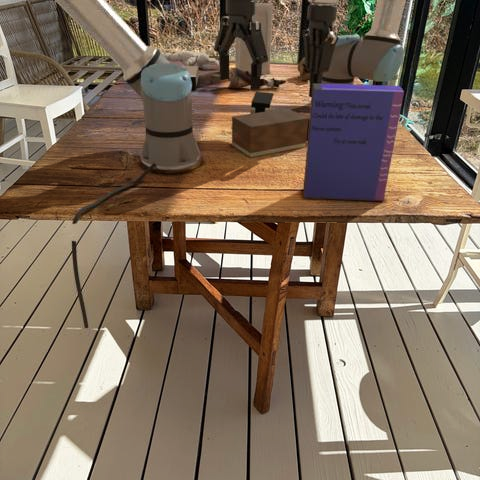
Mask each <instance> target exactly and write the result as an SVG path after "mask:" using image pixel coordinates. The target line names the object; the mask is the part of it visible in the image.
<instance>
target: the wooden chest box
mask: <svg viewBox="0 0 480 480" xmlns="http://www.w3.org/2000/svg"><path fill="white" fill-rule="evenodd" d="M294 111H295V110H291V109H289V108H279V109H275V110H273V109H272V110H271V111H266V112H259V113H253V114H250V113H247V114H240V115H239V114H238V115H233V116H231V146H232V147H234V148H236V149H237V150H239V151H241V152H242V153H243V154H245V155H246V156H248V157H249V158H253V157H258V156H263V155H269V154H274V153H278V152H284V151H289V150H295V149H300V148H305V147H306V148H307V141H306V139H307V128H308V118H307V117H308V116H307V117H305V116H306V115H305V116H303V115H304V114H302V115H300V114H301V113H300V114H298V113H299V112H298V113H296V112H297V111H296V112H294Z"/></svg>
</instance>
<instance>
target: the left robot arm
mask: <svg viewBox="0 0 480 480" xmlns="http://www.w3.org/2000/svg"><path fill="white" fill-rule="evenodd" d="M54 1H55V2H56V3H57V4H58V5H59V6H60V7H61V8H62V9H63V10H64V11H65V12H66V13H67V14H68V15H69V16H70V17H71V18H72V19H73V21H74V22H75V23H76V24H77V25H79V27H80V28H81V29H82V30H83V31H84V32H85V33H86V34H87V35H88V36H89V37H90V38H91V39H92V40H93V41H94V42H95V43H96V44H97V45H98V46H99V47H100V48H101V49H102V50H103V51H104V52H105V54H107V56H108V57H110V59H111V60H112V61H113V62H114V63H115V64H116V65H117V66H118V67H119V68H120V69H121V70H122V75H123V76H122V77H123V80H124V81H125V82H126V84H128V86H129V87H131V88H132V90H133V91H134V92H136V93H137V95H138V96H139V97H140V98H141V102H142V105H143V115H144V125H145V138H144V142H143V146H142V150H141V154H140V162H141V166H142V168H144V169H145V170H144V171H143V172H142V173H141V174H140V175H139V176H138V177H137V178H136V179H135V180H133V181H131V182H130V183H127V184H125V185H123V186H119V187H117V188H115V189H113V190H111V191H109V192H108V193H106V194H105V195H103V196H102V197H100V198H98V199H97V200H96V201H94V202H92V203H90V204H88V205H85V206H83V207H81V208H80V209H79V210H78V211H77V212H76V214H75V216H74V217H73V221H72V225H76V224H77V223H78V222H79V219H80V218H81V216H82V215H83V213H85V212H87V211H88V210H91V209H93V208H95V207H98V206H99V205H100V204H102V203H103V202H104V201H106V200H107V199H109V198H111V197H112V196H114V195H116V194H118V193H120V192H123V191H125V190H127V189H130V188H132V187H135V186H136V185H137V184H139V183H140V182H141V181H142V180H143V179H144V178H145V177H146V176H147V175H148V174H149V173H150V172H151V173H156V174H163V175H164V174H165V175H169V174H170V175H172V174H173V175H175V174H182V173H187V172H190V171H193V170H195V169H197V168H198V167H199V166H201V163H202V154H201V151H200V149H199V146H198V143H197V141H196V137H195V135H194V130H193V129H194V126H193V101H192V100H193V99H192V98H193V97H192V90H191V89H192V82H191V78H190V73H189V71H188V70H187V69H186V68H184V67H182V66H183V65H178V64H176V63H172V62H171V61H168V60H167V59H166V58H165V57H164V56H163V55H162V53H161V52H162V51H161V50H159V49H158V48H157V47H156V46H150V45H146V43H145V42H144V41H143V40H142V39H141V38H140V36H138V35H137V33H136V32H135V31H134V30H133V29H132V28H131V27H130V25H129V24H127V22H126V21H125V20H124V19H123V18H122V17H121V16H120V15H119V14H118V13H117V11H115V9H114V8H113V7H112V6H111V5H110V3H109V2H107V0H54ZM255 3H257V2H256V0H225V14H226V15H225V16H221V17H220V25H219V29H218V33H217V36H216V40H215V44H214V47H213V51H214V52H217V54H218V59H219V60H218V61H219V65H220V66H219V75H220V78H219V80H220V81H226V80H227V79H229V77H230V52H229V51H230V49H231V47H232V45H233V44H234V42H235V41H236V37H238V38H242V40H243V41H244V42H245V44H246V46H247V49H248V51H249V53H250V56H251V58H252V60H253V62H252V63H251V85H250V88H249V89H250V91H255V90H261V87H260V79H261V78H262V76H263V74H262V64H263V63H264V62H268V56H267V52H266V48H265V44H264V40H263V35H262V31H261V22H260V21H254V22H253V21H252V16H253V15H254V14H255ZM262 56H263V57H262ZM257 58H258V59H257ZM227 81H228V80H227ZM77 252H78V251H77V241H76V240H71V257H72V269H73V276H74V282H75V287H76V292H77V298H78V302H79V306H80V311H81V315H82V321H83V327H84V329H88V328H89V322H88V317H87V316H88V315H87V311H86V304H85V301H84V296H83V291H82V287H81V281H80V273H79V265H78V255H77Z"/></svg>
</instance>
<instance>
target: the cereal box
mask: <svg viewBox="0 0 480 480" xmlns="http://www.w3.org/2000/svg"><path fill="white" fill-rule="evenodd" d="M404 94H405V91H404V90H403V88H402V87H401V86H399V85H380V84H379V85H377V84H376V85H375V84H354V85H348V84H313V87H312V98H311V97H310V98H311V99H310V109H309V115H310V120H309V131H308V141H306V153H305V154H306V155H305V165H304V177H303V188H302V189H303V190H302V191H303V197H304V199H317V200H343V201H344V200H345V201H346V200H347V201H366V202H367V201H368V202H369V201H370V202H384V201H385V195H386V190H387V184H388V178H389V174H390V168H391V164H392V158H393V152H394V147H395V142H396V136H397V132H398V126H399V120H400V115H401V111H402V104H403V100H404V99H403V98H404Z"/></svg>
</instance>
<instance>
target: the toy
mask: <svg viewBox="0 0 480 480" xmlns="http://www.w3.org/2000/svg"><path fill="white" fill-rule="evenodd" d="M160 52H161V53H162V55H163V56H164V57H165V58H166V59H167V60H168V61H169V62H180V63H182V64H184V65H183V66H193V65H194V64H196V66H198V68H200V69H201V68H204V65H209V64H210V63H211V64H215V65H216V66H218V67H220V65H219V60H218V59H217V58H210V56H209V55H208V54H206V53H204V52H203V51H199V52H198V53H197V52H194V51H191V50H185V51H179V52H174V53H171V52H168V51H167V52H164V51H160Z"/></svg>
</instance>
